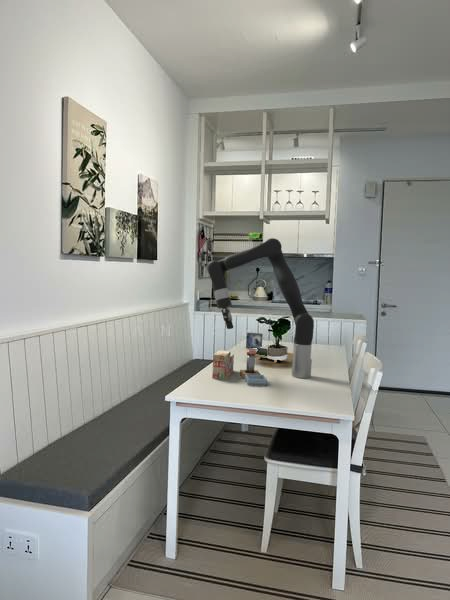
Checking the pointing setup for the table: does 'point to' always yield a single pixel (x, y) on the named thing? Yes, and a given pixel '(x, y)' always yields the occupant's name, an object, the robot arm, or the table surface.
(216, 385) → the table surface
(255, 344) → the small box
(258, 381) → the tray
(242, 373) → the socket block
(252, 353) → the pin
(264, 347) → the miniature car
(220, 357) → the stack of blocks
